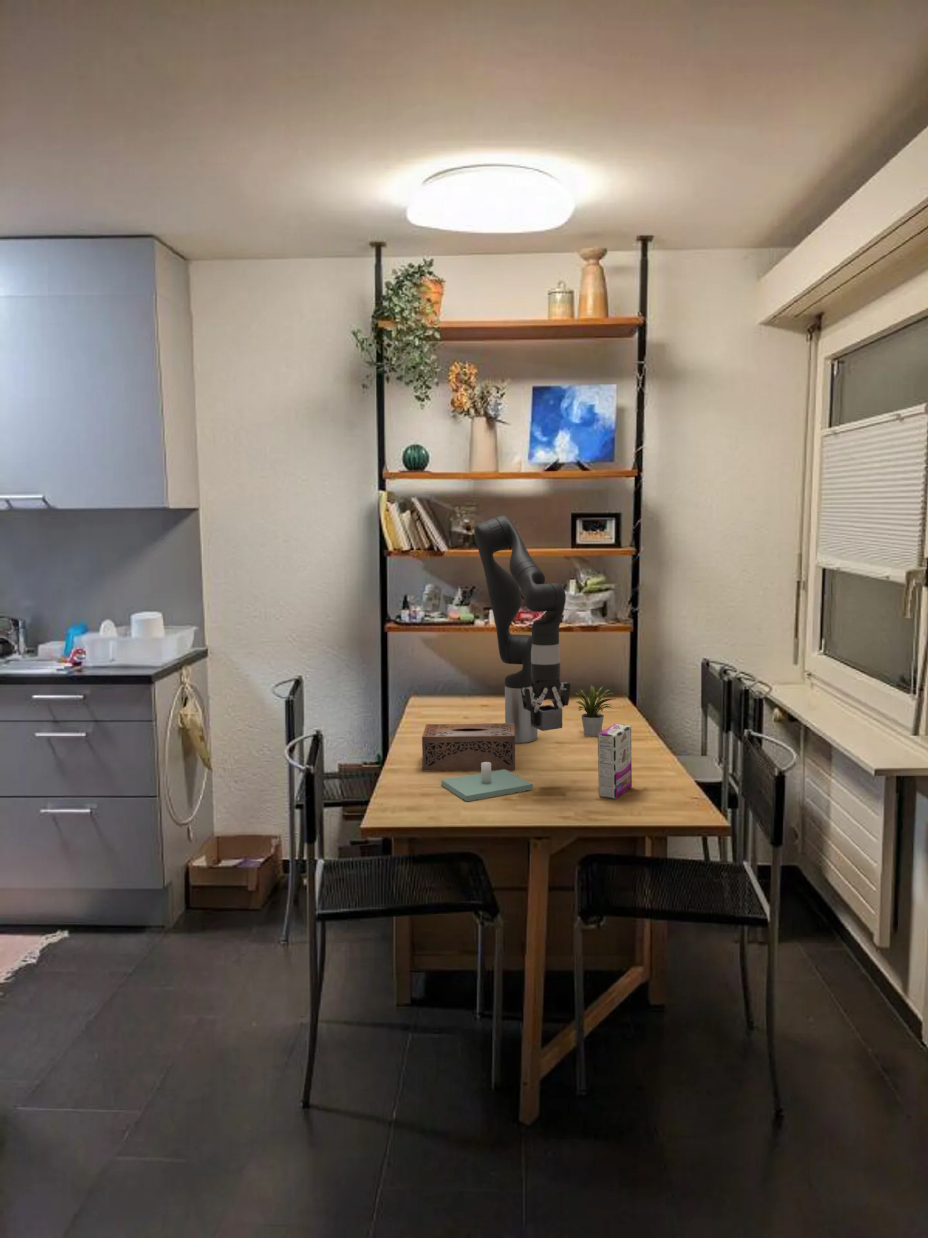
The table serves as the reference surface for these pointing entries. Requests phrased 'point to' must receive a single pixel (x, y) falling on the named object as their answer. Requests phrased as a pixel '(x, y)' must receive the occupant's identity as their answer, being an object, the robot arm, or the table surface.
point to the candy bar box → (614, 761)
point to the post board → (486, 784)
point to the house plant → (592, 712)
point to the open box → (549, 718)
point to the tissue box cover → (468, 746)
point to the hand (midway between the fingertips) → (546, 723)
